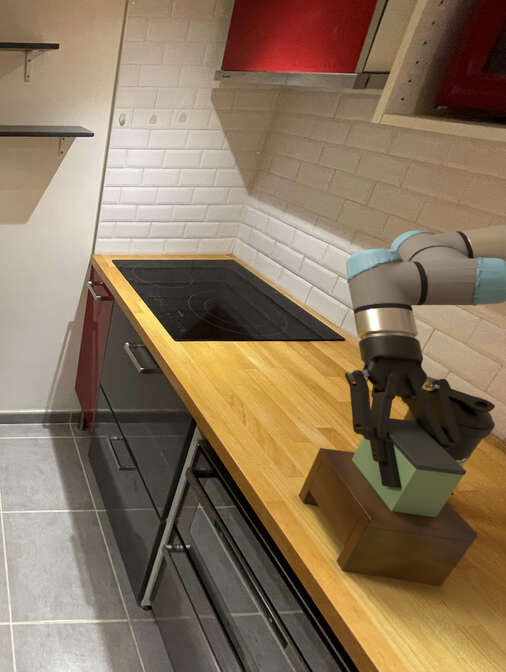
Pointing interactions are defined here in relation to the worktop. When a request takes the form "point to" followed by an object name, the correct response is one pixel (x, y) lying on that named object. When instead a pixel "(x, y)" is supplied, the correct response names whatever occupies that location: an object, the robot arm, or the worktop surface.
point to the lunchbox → (412, 470)
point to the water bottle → (467, 422)
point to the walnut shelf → (383, 525)
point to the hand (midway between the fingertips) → (417, 489)
